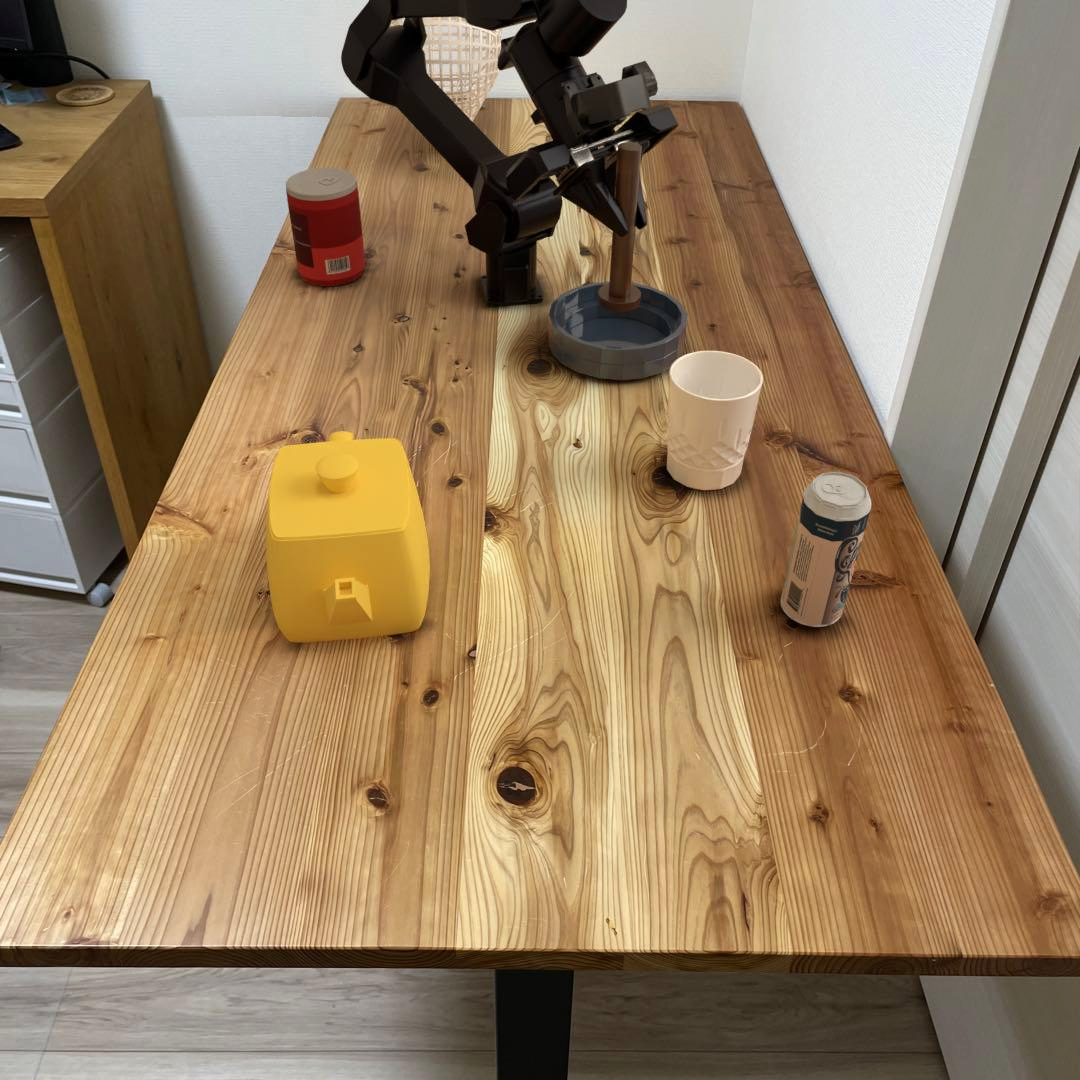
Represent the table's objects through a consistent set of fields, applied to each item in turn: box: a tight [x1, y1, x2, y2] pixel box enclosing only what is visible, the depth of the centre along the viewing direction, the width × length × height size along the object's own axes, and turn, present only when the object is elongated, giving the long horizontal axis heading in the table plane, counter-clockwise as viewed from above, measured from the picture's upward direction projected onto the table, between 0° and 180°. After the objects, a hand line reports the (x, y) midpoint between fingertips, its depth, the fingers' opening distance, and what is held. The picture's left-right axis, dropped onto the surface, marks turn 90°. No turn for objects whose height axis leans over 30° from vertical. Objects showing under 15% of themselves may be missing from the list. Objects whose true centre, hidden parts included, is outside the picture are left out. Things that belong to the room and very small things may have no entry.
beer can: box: [780, 471, 872, 628], centre depth 79 cm, size 5×5×12 cm
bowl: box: [547, 281, 688, 381], centre depth 112 cm, size 14×14×4 cm
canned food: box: [285, 167, 366, 287], centre depth 122 cm, size 8×8×11 cm
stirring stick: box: [598, 142, 642, 312], centre depth 104 cm, size 4×4×16 cm
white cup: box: [665, 350, 764, 491], centre depth 94 cm, size 8×8×10 cm
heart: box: [389, 17, 503, 123], centre depth 148 cm, size 28×16×22 cm, turn 2°
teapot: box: [265, 430, 431, 643], centre depth 81 cm, size 20×12×12 cm, turn 8°
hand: (634, 231), depth 103 cm, fingers closed on stirring stick, 2 cm apart
